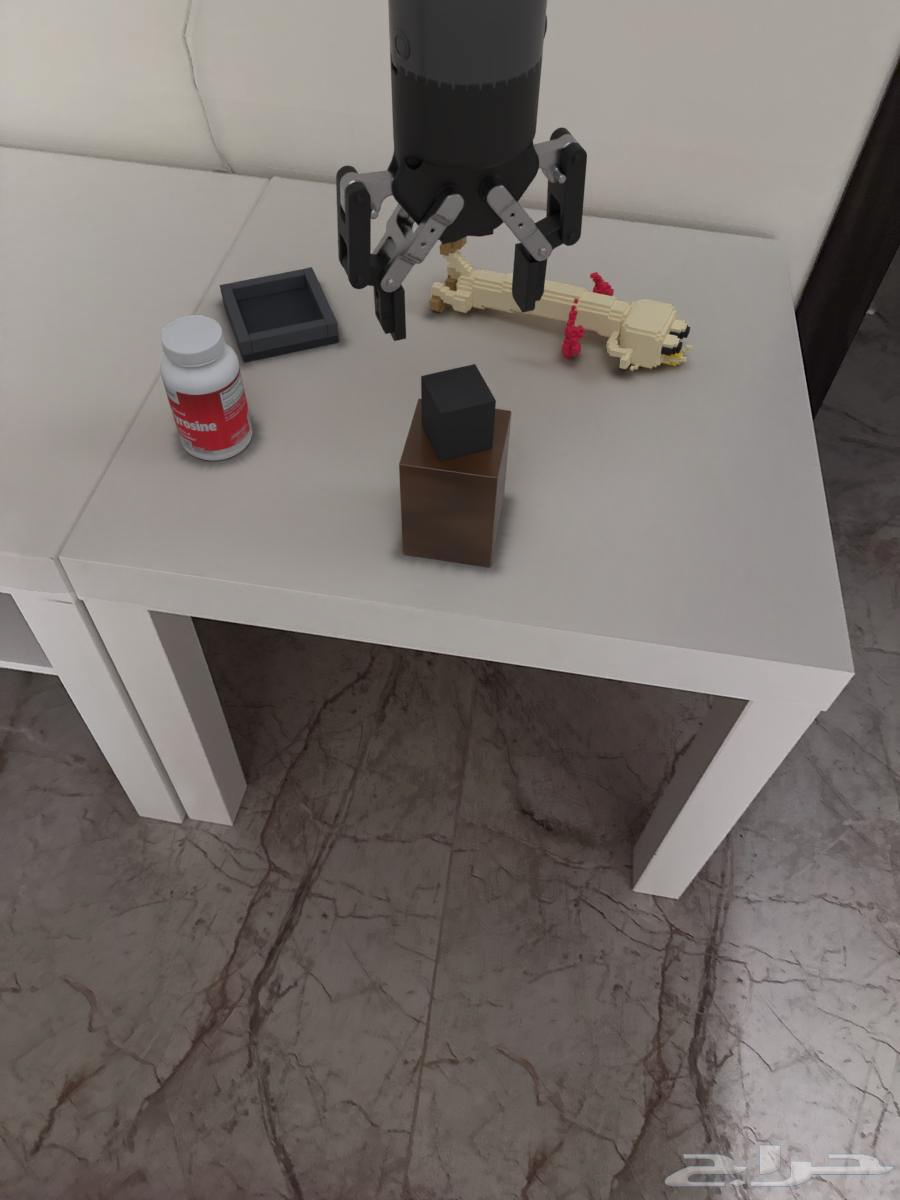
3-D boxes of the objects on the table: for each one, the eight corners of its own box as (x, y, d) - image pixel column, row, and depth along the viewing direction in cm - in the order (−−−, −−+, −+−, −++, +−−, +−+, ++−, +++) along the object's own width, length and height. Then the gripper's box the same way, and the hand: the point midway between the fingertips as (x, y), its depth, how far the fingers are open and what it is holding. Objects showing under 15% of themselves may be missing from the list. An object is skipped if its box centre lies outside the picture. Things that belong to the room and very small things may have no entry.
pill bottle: (166, 445, 79) (132, 340, 70) (212, 404, 83) (186, 298, 74) (223, 473, 78) (196, 369, 69) (268, 430, 81) (247, 325, 72)
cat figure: (422, 337, 90) (671, 396, 83) (413, 255, 84) (685, 312, 76) (464, 282, 96) (702, 332, 88) (459, 201, 89) (717, 248, 81)
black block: (439, 462, 65) (440, 413, 61) (421, 424, 67) (420, 375, 63) (492, 448, 66) (496, 400, 62) (473, 412, 68) (475, 363, 64)
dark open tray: (243, 362, 86) (239, 342, 84) (223, 304, 91) (219, 284, 89) (339, 342, 88) (337, 322, 86) (314, 287, 93) (312, 266, 91)
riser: (402, 554, 73) (398, 464, 65) (420, 490, 77) (418, 397, 69) (490, 567, 72) (497, 478, 64) (503, 502, 76) (511, 410, 68)
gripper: (568, -9, 49) (540, 263, 62) (305, 28, 46) (334, 306, 59) (632, 53, 45) (587, 331, 58) (347, 98, 42) (368, 380, 55)
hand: (459, 318), depth 58 cm, fingers open, 8 cm apart
